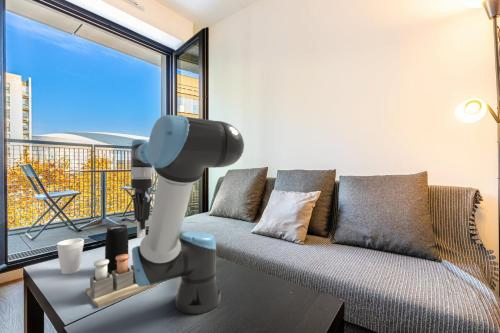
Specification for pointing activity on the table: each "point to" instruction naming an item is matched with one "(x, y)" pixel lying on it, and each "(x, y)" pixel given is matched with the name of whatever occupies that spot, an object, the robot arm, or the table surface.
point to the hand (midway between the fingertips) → (141, 237)
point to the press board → (114, 288)
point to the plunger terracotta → (122, 263)
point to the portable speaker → (115, 245)
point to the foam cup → (70, 255)
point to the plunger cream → (101, 269)
